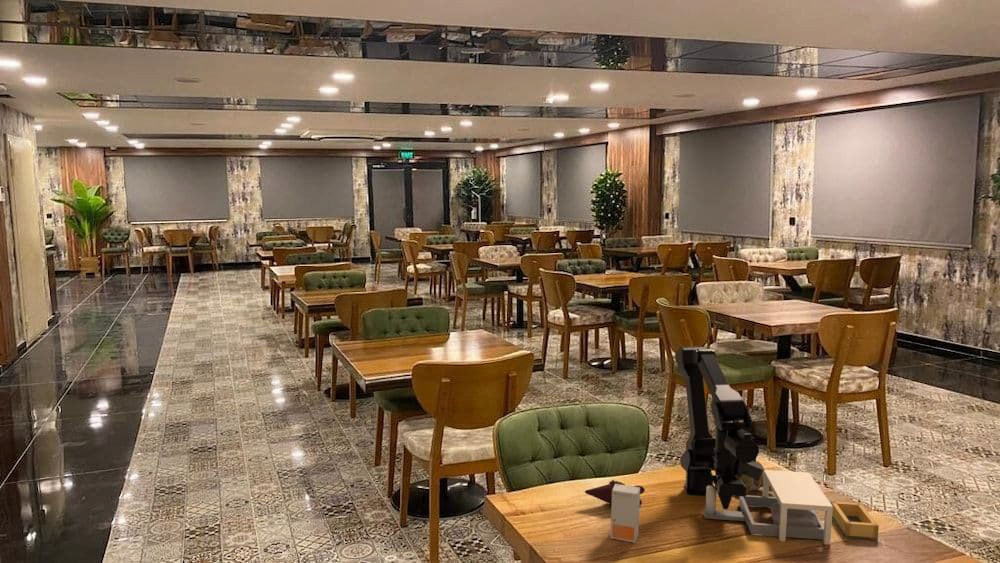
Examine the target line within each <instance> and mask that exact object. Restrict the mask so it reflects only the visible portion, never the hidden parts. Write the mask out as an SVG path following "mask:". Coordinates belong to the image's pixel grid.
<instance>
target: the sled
mask: <svg viewBox="0 0 1000 563" xmlns="http://www.w3.org/2000/svg"><path fill="white" fill-rule="evenodd" d="M775 503H779V502H778V500H777V498H776V496H768V497H766V496H763V495H749V494H748V495H747V494H746V496H744V497H743V496H738V506H739V508H740V510H741V511H737V510H724V509H723V510H722V509H717V490H716V487H715V485H713V486H707V488H706V495H705V508H703V516H704V518H705V519H710V520H711V519H712V520H724V521H725V520H726V521H737V522H739V521H740V522H746V525H747V527H748V530H749V533H750V535H756V536H757V535H758V536H767V537H769V536H771V537H779V525H777V524H774V523H760V522H755V521H754V518H753V515H752V514H751V512H750V509H749V507H759V508H771V505H772V504H775ZM811 511H812V513H814V514H815V515H816V516H817V518H818V520H819V527H805V526H791V525H786V538H797V539H808V540H812V539H813V540H822V541H823V538H824V523H823V522H822V520H821V519H820V516H819V515H818V513H817V512H816V510H811Z"/></svg>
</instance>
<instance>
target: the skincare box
mask: <svg viewBox="0 0 1000 563" xmlns="http://www.w3.org/2000/svg"><path fill="white" fill-rule="evenodd" d="M634 486H635V485H634ZM634 486H633V485H628V484H625V485H620V484H615V485H614V488H613V490H612V505H611V506H610V508H611V510H610V540H611V539H612V540H619V541H623V542H624V541H625V542H629V543H634V544H636V542H637V539H638V536H639V528H640V527H639V526H640V506H641V505H640V499H641V494H640V487H634Z"/></svg>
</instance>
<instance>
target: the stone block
mask: <svg viewBox="0 0 1000 563" xmlns="http://www.w3.org/2000/svg"><path fill="white" fill-rule="evenodd" d="M780 507H781V506H780V504H779V503H775V504H772V505H771V507H770V510H771V512H770V514H771V515H770V516H771V519H772V520H773V524H777V525H780ZM786 525H791V526H805V527H819V520H818V518H817V516H816V515H815V514H814V513H812V511H811V510H803V509H788V508H787V522H786Z"/></svg>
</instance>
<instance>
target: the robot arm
mask: <svg viewBox="0 0 1000 563" xmlns="http://www.w3.org/2000/svg"><path fill="white" fill-rule="evenodd" d="M674 359H675V363H676V365H677V370H678V372H679V373H680V374H681V376H682V377H683V379H684V382H685V391H686V401H687V408H688V409H687V411H688V418H689V419H688V420H689V428H690V433H689V436H688V438H687V440H686V442H685V451H684V452H683V453H682V455H681V456H680V458H679V460H680V467H681V468H682V469H683V470H684V471H685V483H684V489H685V493H686V494H687V495H695V496H696V495H698V496H706V488H707V486H715V487H716V490H717V492H716V494H717V495H718V498H719V501H720V503H721V506H722V509H723V510H729V507H730V504H731V501H732V497H739V496H743V497H744V496H746V495H747V493H746V491H747V488H746V486H745V484H744V482H743V481H742V480H741V479H738V477H742V474H744V475H746V476H748V477H751V478H753V479H754V480H756V481H760V479H761V476H762V474H763V472H764V470H765V468H764V466H763V465H762V464H761V463H760V461H758V460H757V458H758V455H759V453H760V449H759V446H758V444H757V442H756V441H755V440H754V439H752V433H750V432H748V431H751V430H753V426H752V423H753V421H752V416H751V415H750V411H749V409H748V406H747V404H746V402H745V400H744V399H743V398H742V396H741V395H740V393H739V392H738V391H736V390H734V389H733V388H731V386H730V384H729V382H728V380H727V378H726V376H725V375H724V372H723V370H722V368H721V366H720V364H719V362H718V361H717V356H716V351H715V349H712V348H705V347H703V346H701V345H700V346H680V347H679V348H678V350H676V351H675V353H674ZM704 382H705V385H706V387H707V388H708V392H709V393H710V395H711V397H712V399H711V402H710V410H711V414H712V417H713V420H714V421H713V424H714V425H715V437H713V435H712V434H711V433H710V431H709V430H710V429H709V420H708V411H707V402H706V394H705V392H706V391H705V385H704ZM741 421H742V422H741ZM712 471H714V472H715V474H713V473H712ZM735 476H737V477H735Z"/></svg>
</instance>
